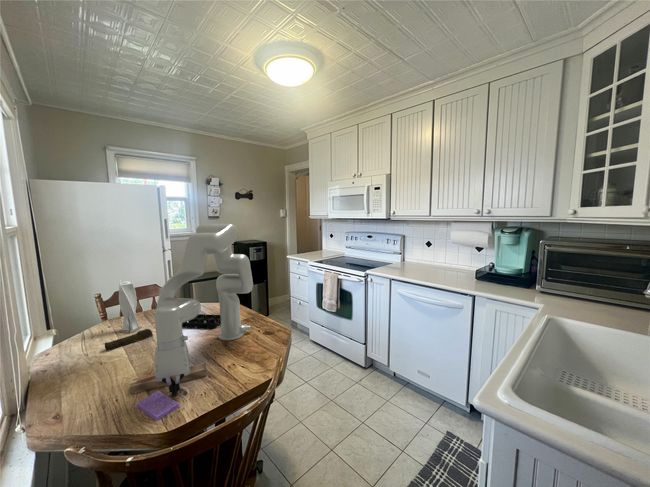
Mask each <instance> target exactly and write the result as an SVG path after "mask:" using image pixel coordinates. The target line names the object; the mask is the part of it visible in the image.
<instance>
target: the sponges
mask: <svg viewBox="0 0 650 487" xmlns="http://www.w3.org/2000/svg"><path fill="white" fill-rule="evenodd" d="M135 406H136V407H137V408H138V409H140V410H141V411H143V412H144V413H146V415H148V416H149V417H150V418H152V419H154V420H155V421H156V422H158V421H159V420H161V419H162V418H163V417H166V416H167V415H168V414H170V413H171V412H173V411H174V410H176V409H178V408H179V406H180V403H179V402H178V401H176V400H174V399H172V398H171V397H170V396H168V395H166V394H165V393H163V392H161V391H159V390H155V392H153V393H151V394H149V395H148V396H147V397H145V398H143V399H142V400H140V401H138V402H136V405H135Z"/></svg>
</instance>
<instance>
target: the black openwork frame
mask: <svg viewBox="0 0 650 487" xmlns="http://www.w3.org/2000/svg"><path fill="white" fill-rule="evenodd" d="M218 323H221V320H220V314H202V313H201V314H200V313H199V314H198V315H197V316H196V317H195V318H194V319H192V320H189V321H186V322H184V323H182V329H183V328H184V329H185V328H187V329H194V328H197V329H201V328H203V329H205V328H206V329H207V328H208V329H207V330H210V329H211V330H214V329H217V327H218V326H219V324H218ZM213 328H214V329H213Z"/></svg>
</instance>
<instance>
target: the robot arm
mask: <svg viewBox="0 0 650 487" xmlns="http://www.w3.org/2000/svg"><path fill="white" fill-rule="evenodd" d="M237 238H238V228H237V227H236V226H235V225H234V224H231V223H203V224H200V225H198V226H197V227H196V229H195V233H193V234H190V236H188V238H187V241H186V245H185V248H184V251H183V255H182V256H183V257H182V260H181V263H180V267H179V269H178V271H176V272H175V273H174V274H173V275H171V276H170V277H169V279H168V280H167V281H166V282H165V283H164V284H163V286H162V288H161V290H160V293H159V296H158V299H157V303H156V309H155V310H154V323H155V333H156V343H157V344H156V345H157V346H156V347H155V351H154V363H153V364H154V374H155V381H156V382H158V381H163V382H165V383H166V384H167V385H166V386H168V393H170V394H171V397H173V396H178V392H179V391H180V390H181V386H180V382H179V381H180V380H181V379H182V378H183V377H184V376H186V375H188V374H190V373H191V369H190V365H191V363H190V361H191V360H190V354H189V347H188V345H187V344H188V343H187V342H186V341H188V340H189V336H188V335H186V336H185V335H184V333H183V328H182V323H184V322H186V321H187V322H188V321H189V320H192V319H194V318H195V317H196V316H197V315H198V314H200V312H201V308H202V306H201V302H200V301H199V300H198V299H195V298H189V297H188V298H181V297H180V298H179V297H175V296H176V294H177V292H178V290H179V289H180V288H181V287H182V286H183V285H185V284H186V283H188V282H190V281H193V280H194V279H197V278H200V277H202V276H203V275H204V274H205V269H206V265H207V261H208V258H209V255H212V257H213V261H214V266H215V269H216V271H217V273H219V274H221V275H219V276H218V277H217V278H216V280H215V287H216V291H217V295H218V301H219V302H218V303H219V315H220V320H221V324H220V331H219V333H218V334H217V338H218V339H219V340H222V341H234V340H237V339H239V338H241V337H243V336H244V335H245V331H246V330H247V331H248V330H251V329H252V328H251V325H249V324H242V322H241V321H242V320H241V307H240V306H241V303H240V299H239V296H238V295H237V294H249V293H250V292H252V290H253V286H254V282H253V276H252V275H253V274H252V269H251V262H250V259H249V256H247V255H246V254H242V253H238V254H237V253H233V250H232V245H233V244H235V242H236V241H237ZM172 376H176V379H175V381H174V380H173V379H172Z"/></svg>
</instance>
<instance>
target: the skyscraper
mask: <svg viewBox="0 0 650 487" xmlns="http://www.w3.org/2000/svg"><path fill="white" fill-rule="evenodd" d="M121 281H122V280H121V278H119V280H118V282H119V285H118V303H119V308H120V311H121V313H122V316H123V320H122V330H120V331H119V334H133V333H135V332H138V330H139V331H140V330H141V329H142V328H143V326H140V325H139V322H138V319H137V316H136V309H137V300H138V299H137V292H136V288H135V285H134V281H133V280H131V281H129V280H126V281H125V280H124V281H123V282H121Z"/></svg>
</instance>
